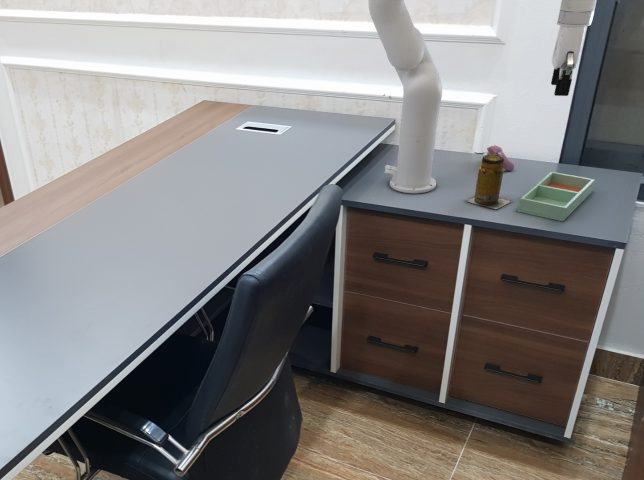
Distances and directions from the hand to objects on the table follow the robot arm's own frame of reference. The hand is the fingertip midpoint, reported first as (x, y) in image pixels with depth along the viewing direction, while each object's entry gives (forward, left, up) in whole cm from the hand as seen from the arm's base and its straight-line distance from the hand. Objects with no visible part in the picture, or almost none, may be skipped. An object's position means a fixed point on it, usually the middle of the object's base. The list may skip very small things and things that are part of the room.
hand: (559, 90), depth 182 cm
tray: (+7, -8, -26) cm, 28 cm away
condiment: (-7, -17, -26) cm, 32 cm away
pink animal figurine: (-15, +9, -26) cm, 32 cm away
